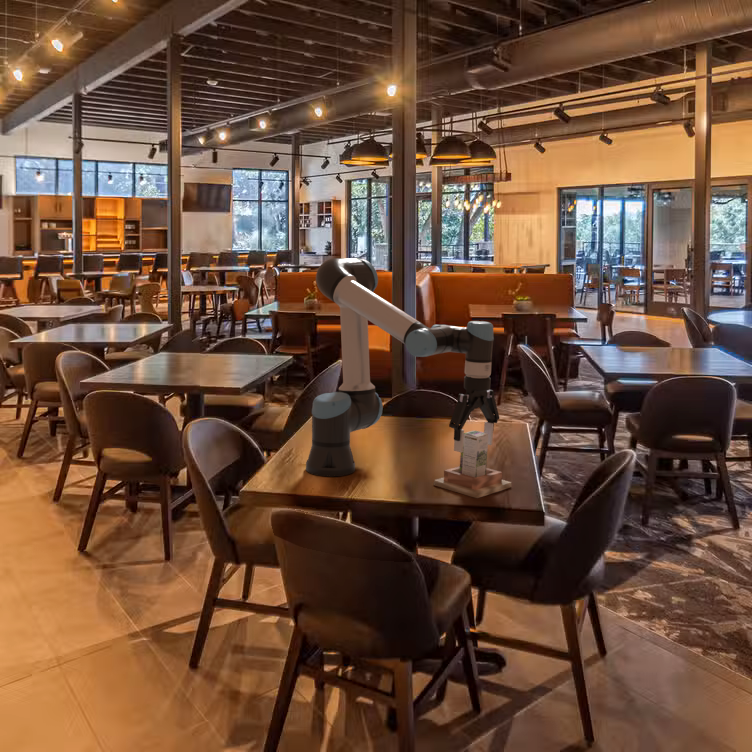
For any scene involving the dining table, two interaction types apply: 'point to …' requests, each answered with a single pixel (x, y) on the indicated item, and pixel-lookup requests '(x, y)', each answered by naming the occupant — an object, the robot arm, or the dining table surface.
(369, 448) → the dining table surface
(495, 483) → the socket board
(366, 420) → the robot arm
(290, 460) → the dining table surface
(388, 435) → the dining table surface
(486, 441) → the syrup box
